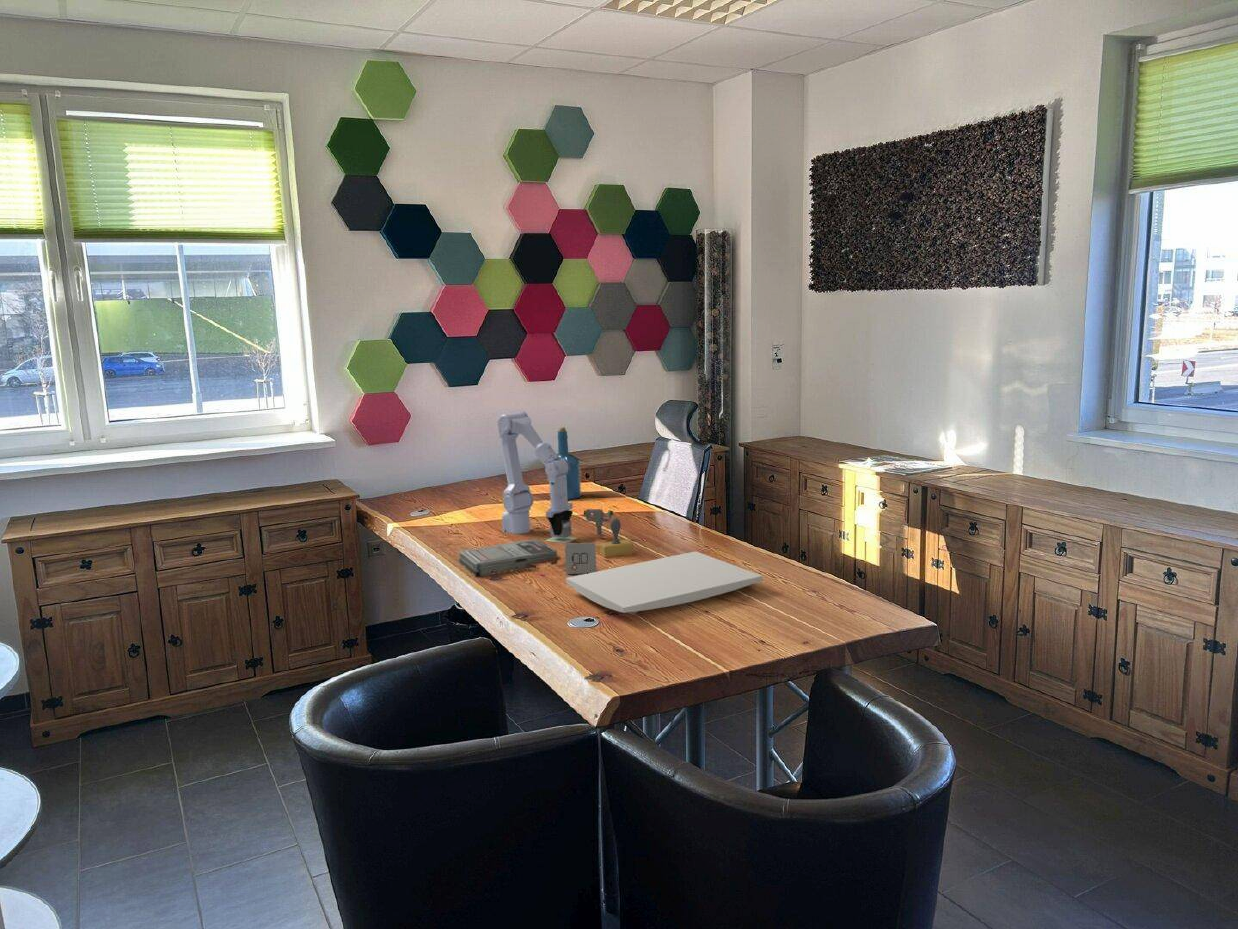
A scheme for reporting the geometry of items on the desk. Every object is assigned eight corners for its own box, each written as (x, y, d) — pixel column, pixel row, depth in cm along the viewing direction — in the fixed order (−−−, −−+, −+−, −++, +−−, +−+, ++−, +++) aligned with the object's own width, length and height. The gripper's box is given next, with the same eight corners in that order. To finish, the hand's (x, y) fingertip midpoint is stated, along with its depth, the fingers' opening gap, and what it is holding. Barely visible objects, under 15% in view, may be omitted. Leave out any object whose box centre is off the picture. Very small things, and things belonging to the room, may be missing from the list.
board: (624, 625, 236) (623, 608, 235) (566, 593, 263) (565, 578, 262) (762, 592, 258) (762, 575, 257) (696, 566, 285) (695, 551, 284)
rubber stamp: (604, 558, 297) (603, 521, 295) (599, 553, 303) (597, 518, 301) (633, 554, 301) (632, 518, 298) (627, 550, 306) (626, 514, 304)
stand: (544, 544, 316) (544, 540, 316) (555, 540, 322) (555, 535, 322) (567, 547, 312) (567, 543, 312) (577, 542, 318) (577, 537, 318)
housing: (550, 536, 316) (549, 522, 315) (556, 533, 320) (556, 519, 319) (565, 537, 313) (565, 523, 312) (571, 535, 317) (571, 520, 316)
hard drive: (459, 564, 298) (458, 550, 297) (537, 551, 310) (537, 538, 309) (476, 578, 282) (475, 564, 281) (558, 564, 293) (557, 551, 292)
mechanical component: (613, 539, 320) (611, 511, 318) (584, 538, 322) (583, 510, 320) (614, 537, 323) (613, 509, 321) (586, 536, 325) (585, 509, 323)
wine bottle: (543, 499, 390) (539, 428, 385) (562, 493, 401) (559, 424, 395) (569, 502, 382) (565, 430, 377) (588, 496, 393) (585, 426, 388)
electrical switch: (565, 575, 280) (564, 544, 279) (566, 571, 285) (565, 542, 285) (596, 574, 280) (595, 543, 279) (596, 570, 285) (595, 541, 285)
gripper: (557, 499, 306) (559, 539, 308) (579, 491, 318) (581, 529, 321) (539, 498, 309) (541, 537, 311) (561, 489, 322) (563, 527, 324)
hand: (560, 533), depth 316 cm, fingers closed on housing, 4 cm apart
